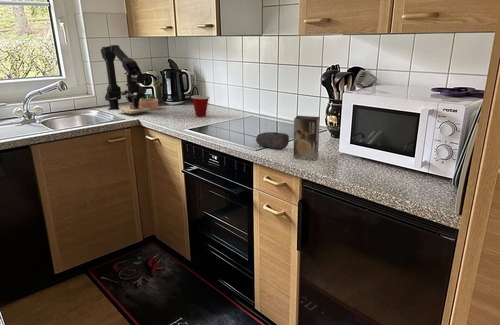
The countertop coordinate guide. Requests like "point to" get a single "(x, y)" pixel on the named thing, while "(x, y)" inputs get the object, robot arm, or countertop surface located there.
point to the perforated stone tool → (273, 140)
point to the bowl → (149, 103)
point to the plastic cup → (200, 105)
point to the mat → (134, 114)
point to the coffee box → (306, 137)
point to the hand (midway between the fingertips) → (134, 107)
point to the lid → (134, 109)
